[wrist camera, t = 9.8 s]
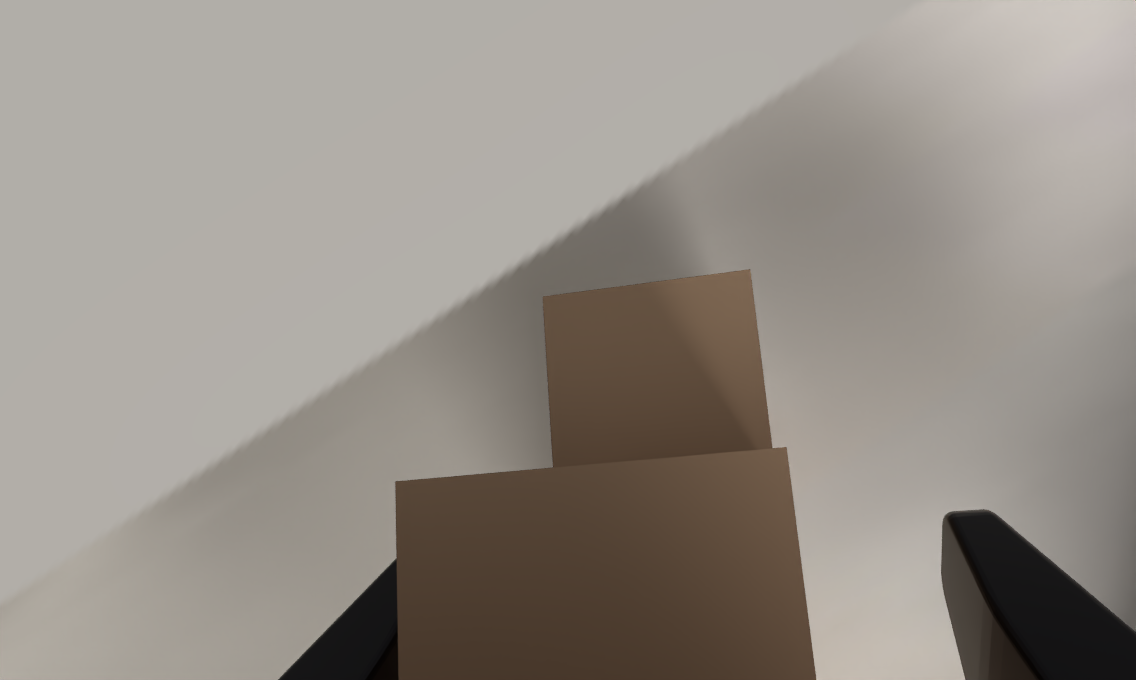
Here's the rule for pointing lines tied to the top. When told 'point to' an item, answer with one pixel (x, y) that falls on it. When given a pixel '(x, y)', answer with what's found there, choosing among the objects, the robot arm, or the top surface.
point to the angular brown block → (620, 512)
